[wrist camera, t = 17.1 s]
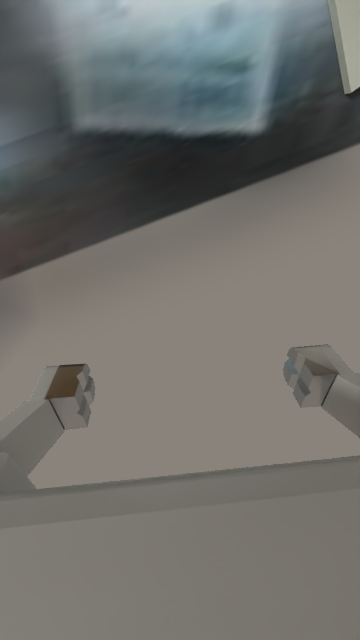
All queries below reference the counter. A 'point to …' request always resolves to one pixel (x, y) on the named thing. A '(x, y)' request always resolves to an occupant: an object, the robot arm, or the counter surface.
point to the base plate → (347, 40)
